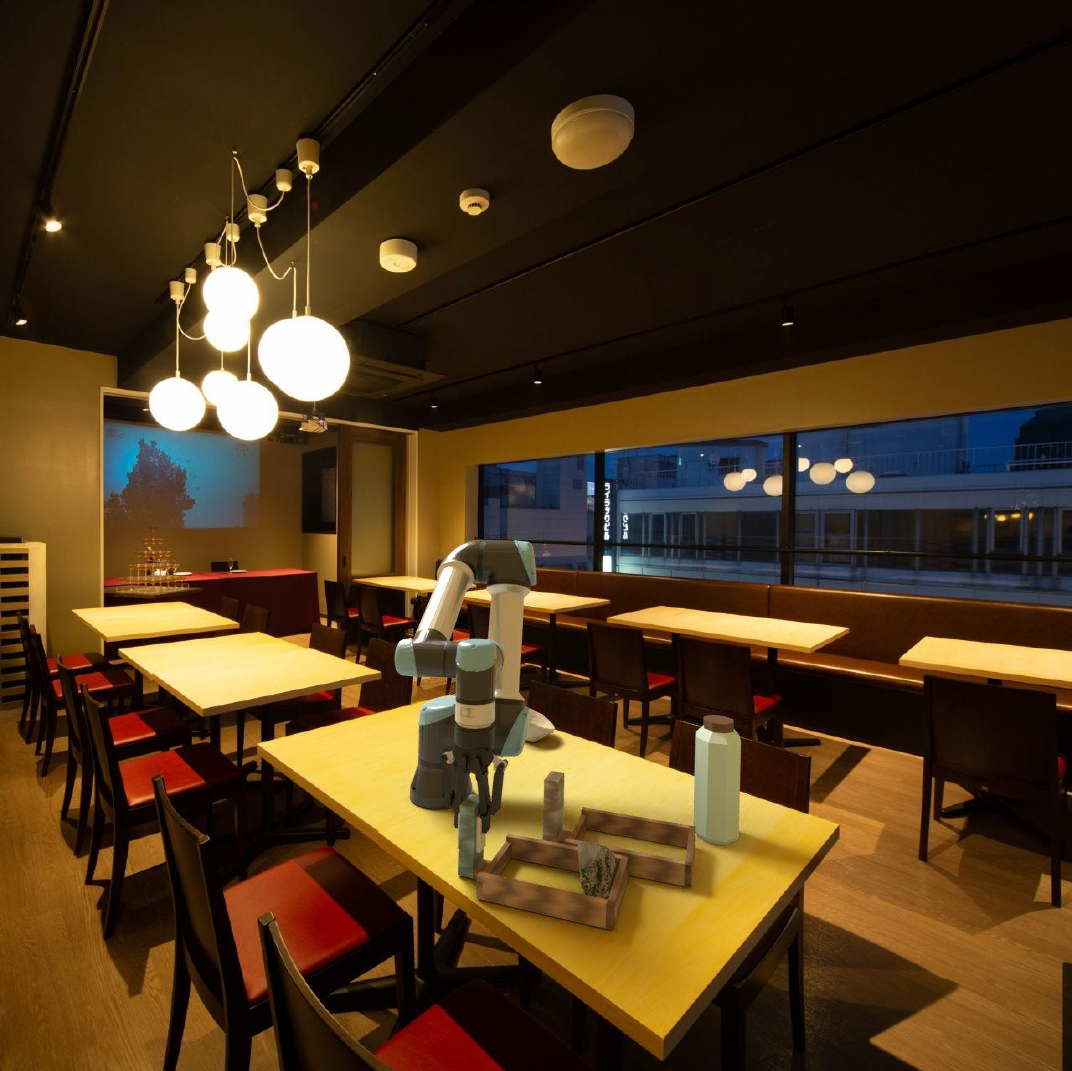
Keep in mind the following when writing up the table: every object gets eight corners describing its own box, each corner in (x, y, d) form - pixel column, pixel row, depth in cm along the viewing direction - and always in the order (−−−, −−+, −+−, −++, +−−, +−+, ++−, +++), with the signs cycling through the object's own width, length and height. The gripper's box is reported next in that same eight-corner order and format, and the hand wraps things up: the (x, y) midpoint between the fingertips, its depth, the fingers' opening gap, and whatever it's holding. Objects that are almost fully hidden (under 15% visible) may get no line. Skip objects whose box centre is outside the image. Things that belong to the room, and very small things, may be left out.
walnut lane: (445, 890, 102) (447, 817, 102) (480, 847, 117) (481, 783, 117) (613, 930, 93) (614, 849, 93) (628, 878, 108) (629, 808, 108)
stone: (625, 844, 101) (577, 825, 107) (600, 902, 95) (551, 878, 101) (639, 871, 106) (593, 850, 112) (617, 927, 99) (569, 903, 106)
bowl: (555, 749, 174) (556, 716, 174) (509, 747, 174) (509, 714, 175) (554, 732, 189) (555, 702, 189) (511, 731, 189) (512, 700, 190)
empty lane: (534, 855, 114) (536, 789, 115) (556, 820, 129) (557, 762, 129) (691, 887, 105) (692, 815, 105) (695, 845, 120) (696, 782, 120)
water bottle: (685, 824, 130) (687, 712, 130) (728, 823, 130) (731, 712, 131) (701, 847, 120) (704, 726, 120) (748, 847, 120) (751, 726, 121)
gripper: (427, 723, 108) (423, 849, 108) (507, 734, 103) (504, 865, 103) (445, 712, 115) (442, 830, 115) (521, 721, 111) (518, 845, 110)
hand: (471, 846), depth 109 cm, fingers closed on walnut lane, 3 cm apart
